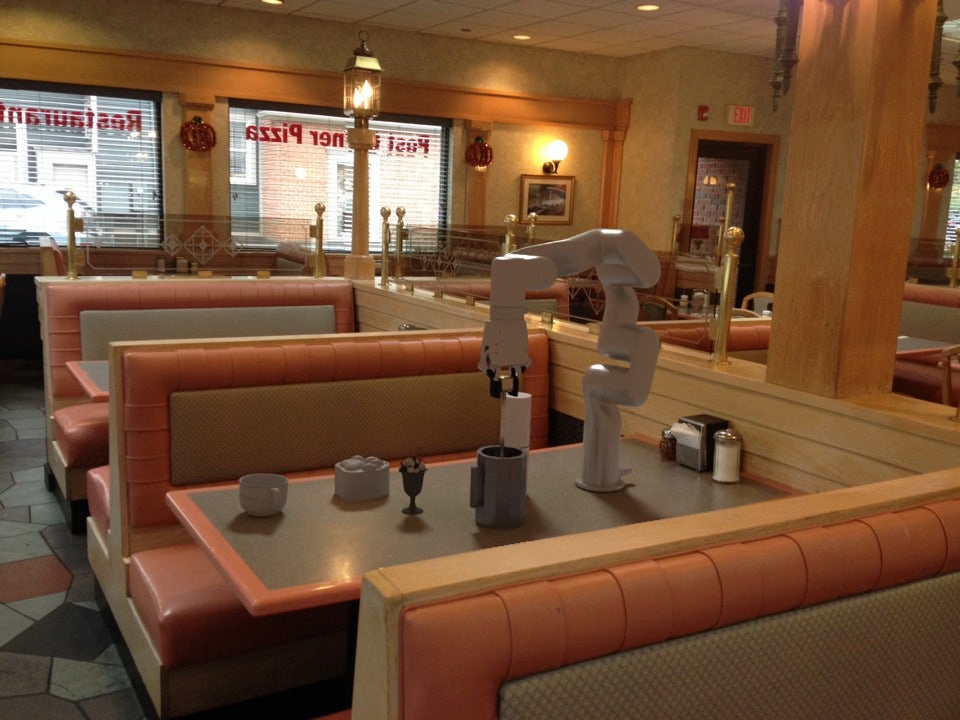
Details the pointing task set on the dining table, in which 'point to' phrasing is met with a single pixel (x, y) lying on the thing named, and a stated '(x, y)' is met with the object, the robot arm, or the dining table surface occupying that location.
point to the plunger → (504, 407)
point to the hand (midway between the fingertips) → (504, 395)
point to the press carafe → (499, 487)
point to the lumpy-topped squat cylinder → (362, 479)
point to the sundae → (413, 480)
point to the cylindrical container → (518, 423)
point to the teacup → (263, 493)
